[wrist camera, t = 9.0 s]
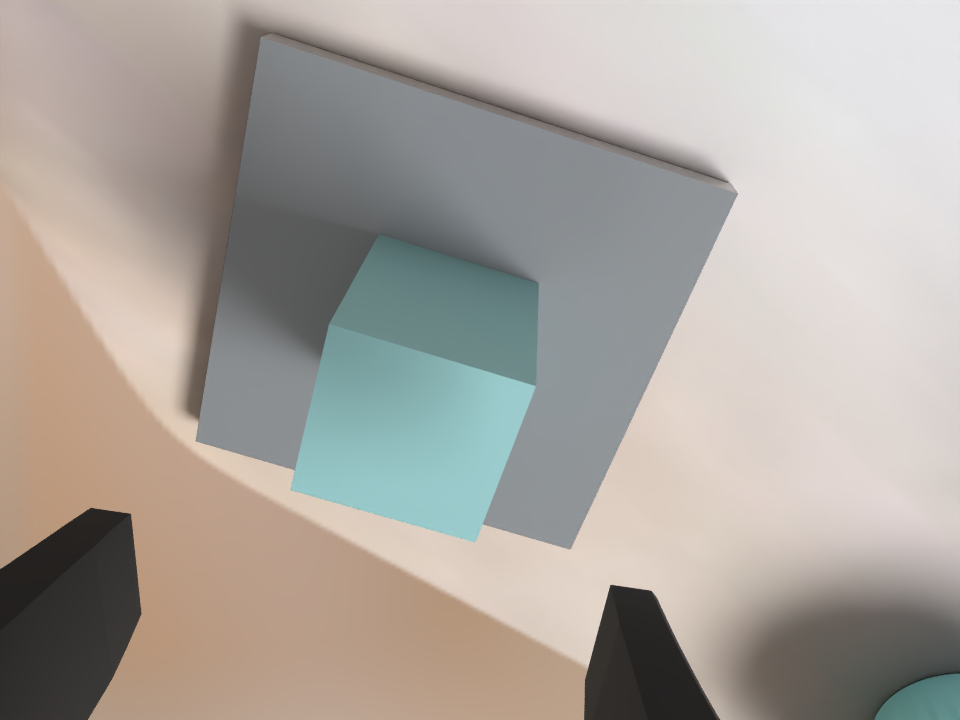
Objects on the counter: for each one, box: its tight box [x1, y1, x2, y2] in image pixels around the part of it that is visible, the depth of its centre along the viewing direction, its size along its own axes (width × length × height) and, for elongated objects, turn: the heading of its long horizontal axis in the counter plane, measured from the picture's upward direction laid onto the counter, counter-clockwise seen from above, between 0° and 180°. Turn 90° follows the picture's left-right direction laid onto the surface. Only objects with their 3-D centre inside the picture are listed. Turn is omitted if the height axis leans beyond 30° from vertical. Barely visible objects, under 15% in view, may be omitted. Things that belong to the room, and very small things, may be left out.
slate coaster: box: [196, 33, 738, 549], centre depth 21 cm, size 11×11×1 cm
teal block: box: [291, 234, 539, 542], centre depth 18 cm, size 4×4×5 cm
